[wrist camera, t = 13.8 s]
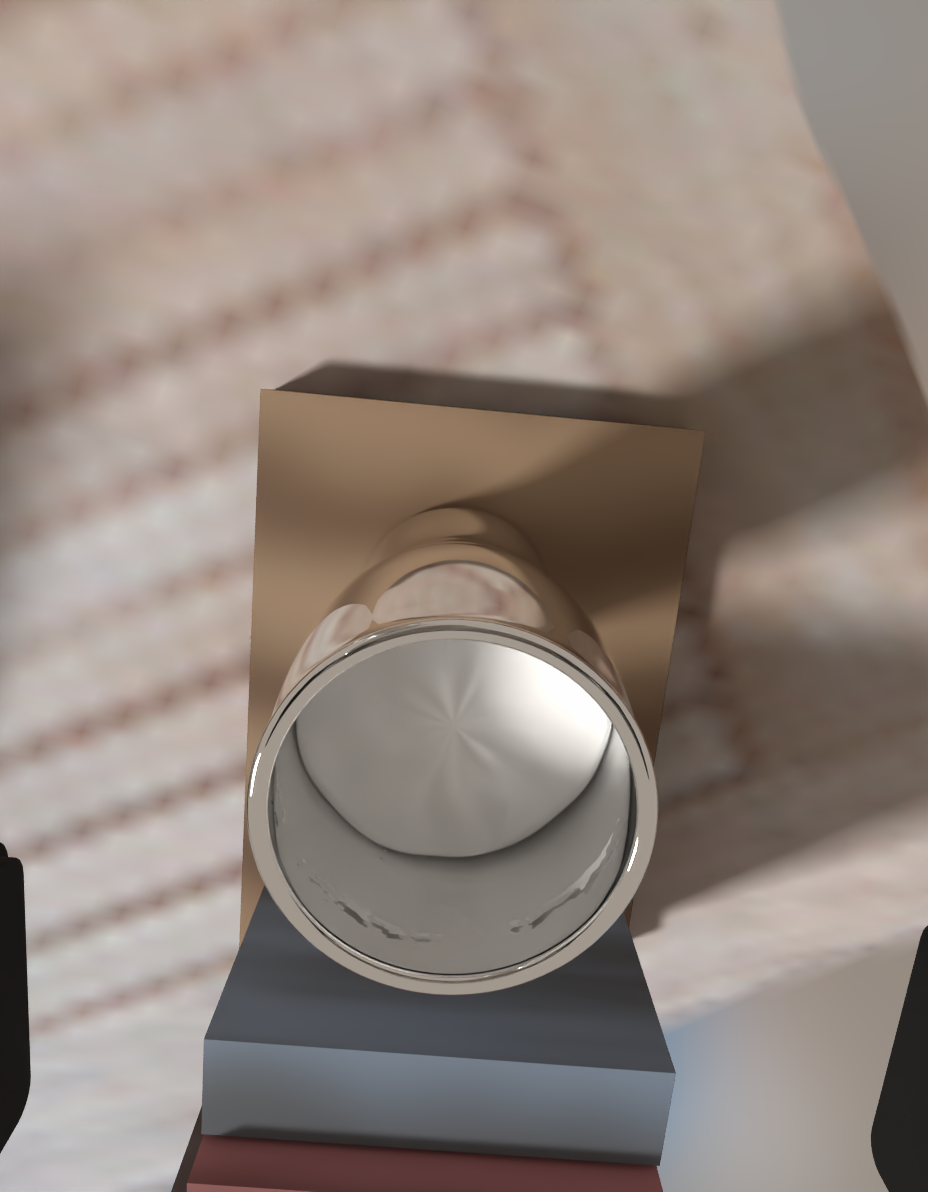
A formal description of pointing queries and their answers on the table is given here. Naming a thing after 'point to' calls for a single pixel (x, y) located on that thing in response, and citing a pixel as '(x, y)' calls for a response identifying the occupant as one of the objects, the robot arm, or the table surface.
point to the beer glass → (452, 768)
